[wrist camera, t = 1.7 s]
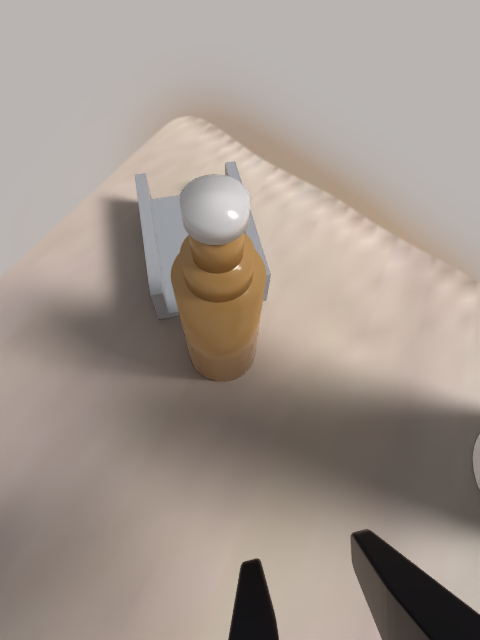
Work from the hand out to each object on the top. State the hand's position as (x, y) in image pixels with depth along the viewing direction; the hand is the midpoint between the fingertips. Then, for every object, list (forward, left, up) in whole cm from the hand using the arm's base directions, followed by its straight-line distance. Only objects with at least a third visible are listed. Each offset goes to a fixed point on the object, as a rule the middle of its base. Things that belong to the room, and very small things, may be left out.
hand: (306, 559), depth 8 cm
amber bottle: (+5, -10, -14) cm, 17 cm away
